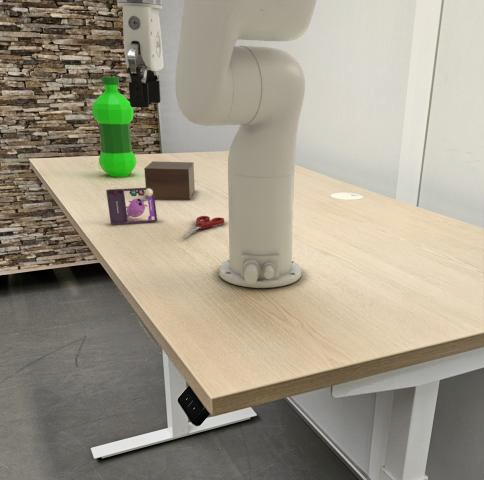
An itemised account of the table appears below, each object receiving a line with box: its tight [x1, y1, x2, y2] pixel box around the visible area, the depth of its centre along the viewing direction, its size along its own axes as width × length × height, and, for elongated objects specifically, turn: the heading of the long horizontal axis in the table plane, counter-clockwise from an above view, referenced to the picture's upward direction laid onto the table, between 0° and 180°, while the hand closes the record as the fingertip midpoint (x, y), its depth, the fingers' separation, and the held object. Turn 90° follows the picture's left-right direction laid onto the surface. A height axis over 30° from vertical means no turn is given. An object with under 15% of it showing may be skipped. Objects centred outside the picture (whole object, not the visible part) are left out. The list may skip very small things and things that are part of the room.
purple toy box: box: [105, 187, 158, 226], centre depth 115 cm, size 7×5×9 cm
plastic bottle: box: [91, 76, 137, 178], centre depth 154 cm, size 10×10×25 cm
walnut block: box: [143, 160, 196, 201], centre depth 137 cm, size 10×10×7 cm
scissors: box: [183, 215, 225, 237], centre depth 111 cm, size 5×14×1 cm, turn 164°
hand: (146, 104), depth 106 cm, fingers open, 9 cm apart
